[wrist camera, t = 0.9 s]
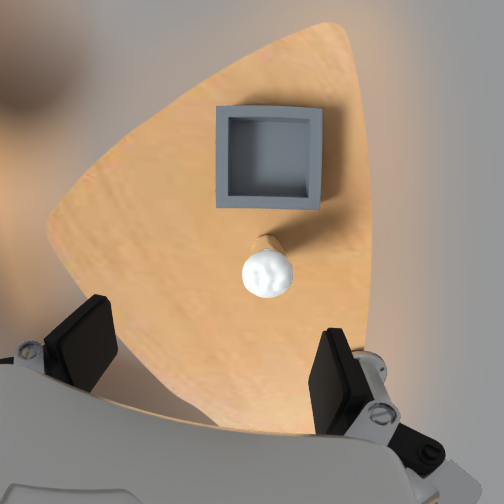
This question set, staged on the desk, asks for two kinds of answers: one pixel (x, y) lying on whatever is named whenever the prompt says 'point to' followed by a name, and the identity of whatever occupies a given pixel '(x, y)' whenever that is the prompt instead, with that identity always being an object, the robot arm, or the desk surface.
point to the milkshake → (267, 268)
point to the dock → (268, 157)
